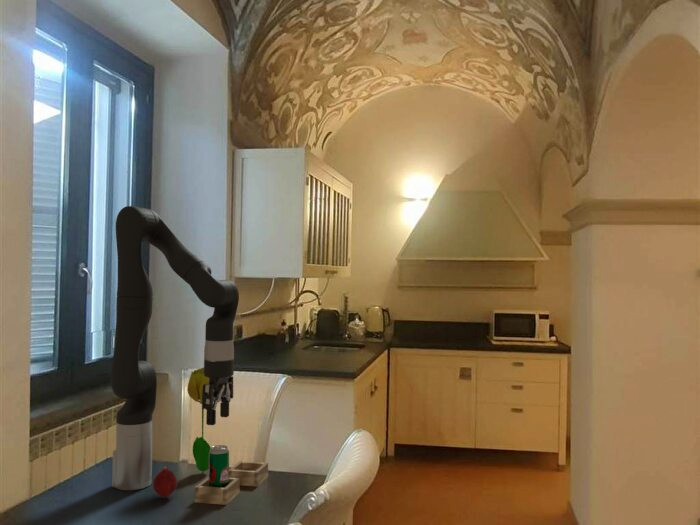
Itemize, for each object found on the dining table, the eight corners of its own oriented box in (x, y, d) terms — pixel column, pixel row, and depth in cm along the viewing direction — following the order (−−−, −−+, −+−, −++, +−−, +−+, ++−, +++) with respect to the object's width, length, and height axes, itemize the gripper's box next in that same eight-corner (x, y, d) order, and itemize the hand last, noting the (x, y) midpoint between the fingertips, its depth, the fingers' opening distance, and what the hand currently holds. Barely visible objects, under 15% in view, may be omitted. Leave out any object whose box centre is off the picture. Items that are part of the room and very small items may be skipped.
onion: (181, 496, 158) (182, 464, 158) (166, 503, 153) (166, 471, 153) (164, 492, 160) (164, 461, 160) (148, 499, 155) (148, 468, 155)
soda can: (223, 498, 154) (224, 451, 154) (205, 497, 155) (205, 449, 155) (232, 491, 159) (232, 445, 159) (214, 490, 160) (214, 443, 160)
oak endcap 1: (194, 502, 153) (194, 487, 153) (209, 490, 162) (209, 476, 162) (226, 504, 152) (226, 489, 152) (239, 492, 160) (239, 478, 160)
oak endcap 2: (228, 484, 167) (228, 470, 167) (239, 474, 175) (239, 461, 175) (257, 486, 165) (257, 472, 165) (268, 476, 173) (268, 462, 173)
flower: (195, 468, 181) (195, 366, 181) (221, 469, 179) (222, 366, 180) (183, 477, 172) (184, 370, 173) (210, 479, 171) (211, 371, 172)
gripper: (216, 353, 165) (215, 413, 165) (192, 360, 151) (191, 426, 151) (243, 354, 164) (242, 415, 163) (221, 362, 150) (220, 428, 149)
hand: (217, 420), depth 157 cm, fingers open, 8 cm apart
